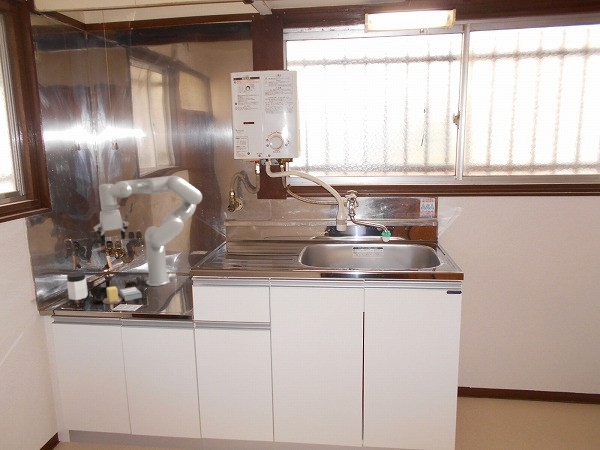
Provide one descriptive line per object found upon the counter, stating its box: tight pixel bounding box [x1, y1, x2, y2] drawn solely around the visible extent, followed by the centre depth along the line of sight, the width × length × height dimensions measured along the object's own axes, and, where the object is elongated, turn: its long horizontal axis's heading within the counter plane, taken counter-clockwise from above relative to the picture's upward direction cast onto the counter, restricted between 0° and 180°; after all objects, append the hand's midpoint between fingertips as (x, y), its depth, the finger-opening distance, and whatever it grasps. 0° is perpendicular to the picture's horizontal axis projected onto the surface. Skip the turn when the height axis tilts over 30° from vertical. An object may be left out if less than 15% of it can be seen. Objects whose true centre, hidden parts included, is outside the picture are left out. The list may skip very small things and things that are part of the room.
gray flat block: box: [118, 286, 143, 302], centre depth 226 cm, size 8×12×3 cm, turn 35°
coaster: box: [102, 295, 124, 305], centre depth 220 cm, size 9×9×1 cm
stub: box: [106, 285, 119, 302], centre depth 219 cm, size 4×5×6 cm
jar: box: [66, 271, 89, 301], centre depth 224 cm, size 9×8×12 cm
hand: (113, 240), depth 231 cm, fingers open, 9 cm apart
